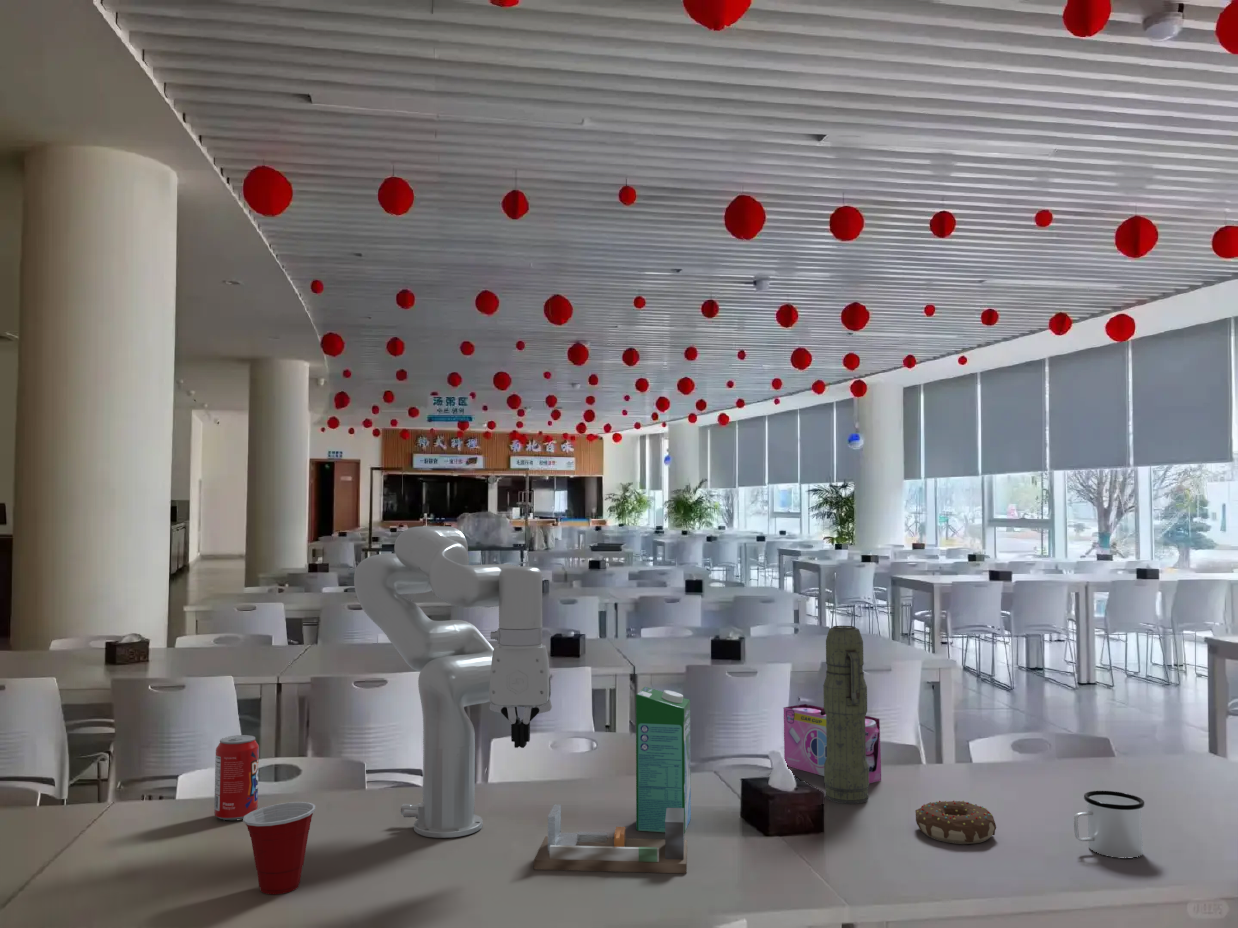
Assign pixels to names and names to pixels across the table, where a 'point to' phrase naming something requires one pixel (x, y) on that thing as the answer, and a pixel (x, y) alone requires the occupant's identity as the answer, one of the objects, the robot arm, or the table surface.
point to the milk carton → (662, 758)
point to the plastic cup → (279, 844)
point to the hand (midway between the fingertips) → (520, 745)
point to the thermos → (845, 717)
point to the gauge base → (622, 852)
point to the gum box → (822, 740)
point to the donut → (956, 822)
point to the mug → (1113, 823)
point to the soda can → (236, 777)
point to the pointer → (620, 837)
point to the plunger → (568, 838)
